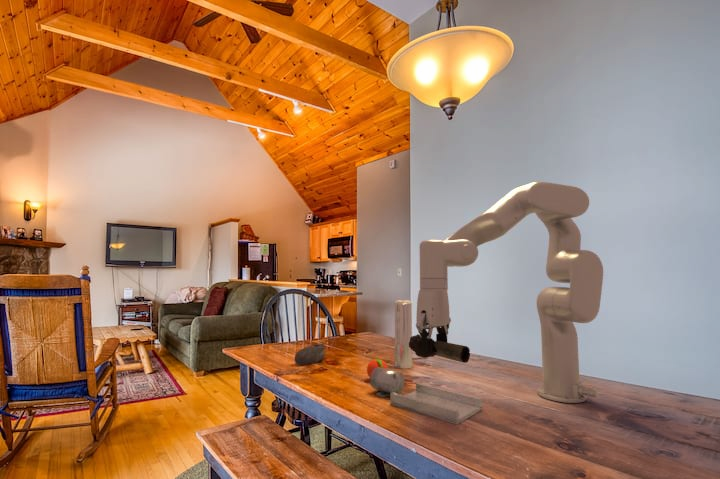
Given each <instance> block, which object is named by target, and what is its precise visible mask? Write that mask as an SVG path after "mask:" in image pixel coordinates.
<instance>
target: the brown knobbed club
mask: <svg viewBox="0 0 720 479" xmlns="http://www.w3.org/2000/svg"><path fill="white" fill-rule="evenodd" d="M409 347H410V348H411V350H412V352H414V353H415V356H417V357H419V358H424V359H427V358H429V357H430V358H433V357H435V356H436V357H440V358H444V359H449V360H451V361H456V362H459V363H463V364H465V363H466V364H467V363H468V362H469V360H470V357H471V351H470V350H471V349H470V347H469V346H467V345H462V344H457V343H451V342H448V341H447V342H442V341H436V340H434V339H433V353H432V354H426V353H422V352H421V337H420V334H418V333H417V334H416V335H412V337H411V338H410V341H409Z"/></svg>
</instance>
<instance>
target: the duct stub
mask: <svg viewBox="0 0 720 479" xmlns="http://www.w3.org/2000/svg"><path fill="white" fill-rule="evenodd" d="M405 381H406V380H405V376H404V374H403V372H400V371H396V370H392V369H388V368H387V369H384V368H380V367H377V368H375V369H374V370H373V371H372V373H371V377H369V382H370V383H369V384H370V386H371V388H372V389H373V390H376V391H379V392H376V393H375V396H377V397H381V398H386V397H389V396H390V393H392V392H394V393H398V394H401V393H402V392H403V390H404V387H405Z"/></svg>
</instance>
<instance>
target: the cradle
mask: <svg viewBox="0 0 720 479" xmlns="http://www.w3.org/2000/svg"><path fill="white" fill-rule="evenodd" d="M389 396H390V397H389V398H390V401H389V402H390V404H389V405H390V406H393V407H397V408H401V409H403V410H407V411H410V412H413V413H417V414H420V415H423V416H426V417H429V418H433V419H436V420H439V421H443V422H447V423H449V424H451V425H452V424H453V425H459V424H461V423H463V422H464V421H465V420H468V419H469V418H471V417H473V416H475V415H476V414H478V413H479V412H481V411H482V410H483V403H482V402H483V398H482V397H479V396H475V395H470V394H466V393H462V392H457V391H453V390H449V389H445V388H442V387H437V386H433V385H429V384H426V383H420V382H417V383H415V390H414V391H412V392H409V393H407V394H401V393H400V394H398V393H394V392H392V393H390V395H389Z"/></svg>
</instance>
